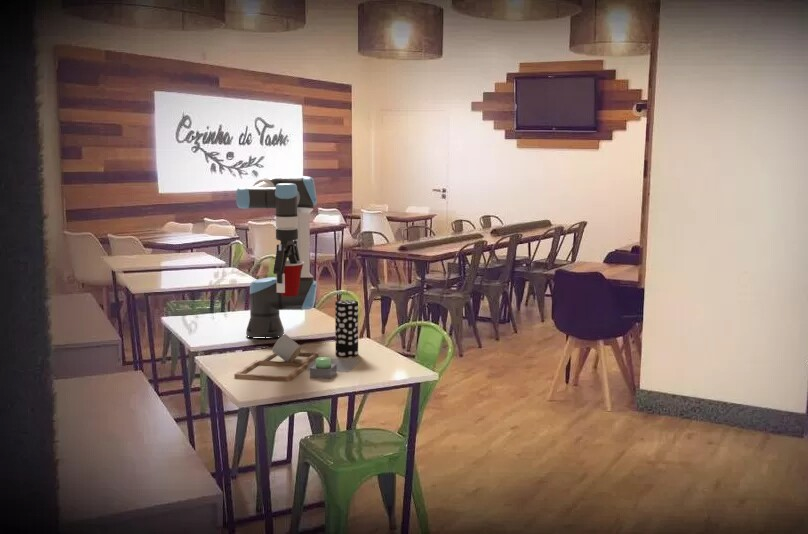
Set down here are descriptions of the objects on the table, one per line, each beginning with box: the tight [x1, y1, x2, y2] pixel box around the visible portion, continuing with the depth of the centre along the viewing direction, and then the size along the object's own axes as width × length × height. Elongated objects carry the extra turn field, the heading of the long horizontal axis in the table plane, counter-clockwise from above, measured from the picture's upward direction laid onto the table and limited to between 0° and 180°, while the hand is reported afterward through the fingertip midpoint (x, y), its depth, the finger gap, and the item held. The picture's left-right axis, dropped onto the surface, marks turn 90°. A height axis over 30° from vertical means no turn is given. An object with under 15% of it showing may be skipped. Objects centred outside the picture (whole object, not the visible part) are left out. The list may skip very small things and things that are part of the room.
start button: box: [315, 356, 332, 368], centre depth 259 cm, size 5×5×2 cm
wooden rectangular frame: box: [234, 351, 319, 382], centre depth 271 cm, size 34×19×2 cm, turn 169°
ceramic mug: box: [271, 333, 302, 362], centre depth 279 cm, size 11×8×8 cm
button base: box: [309, 364, 337, 380], centre depth 260 cm, size 7×7×4 cm
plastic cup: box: [272, 260, 304, 297], centre depth 276 cm, size 11×11×12 cm
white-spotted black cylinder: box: [334, 299, 359, 359], centre depth 287 cm, size 8×8×20 cm
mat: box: [303, 358, 361, 373], centre depth 274 cm, size 16×16×1 cm
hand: (287, 289), depth 275 cm, fingers open, 13 cm apart
